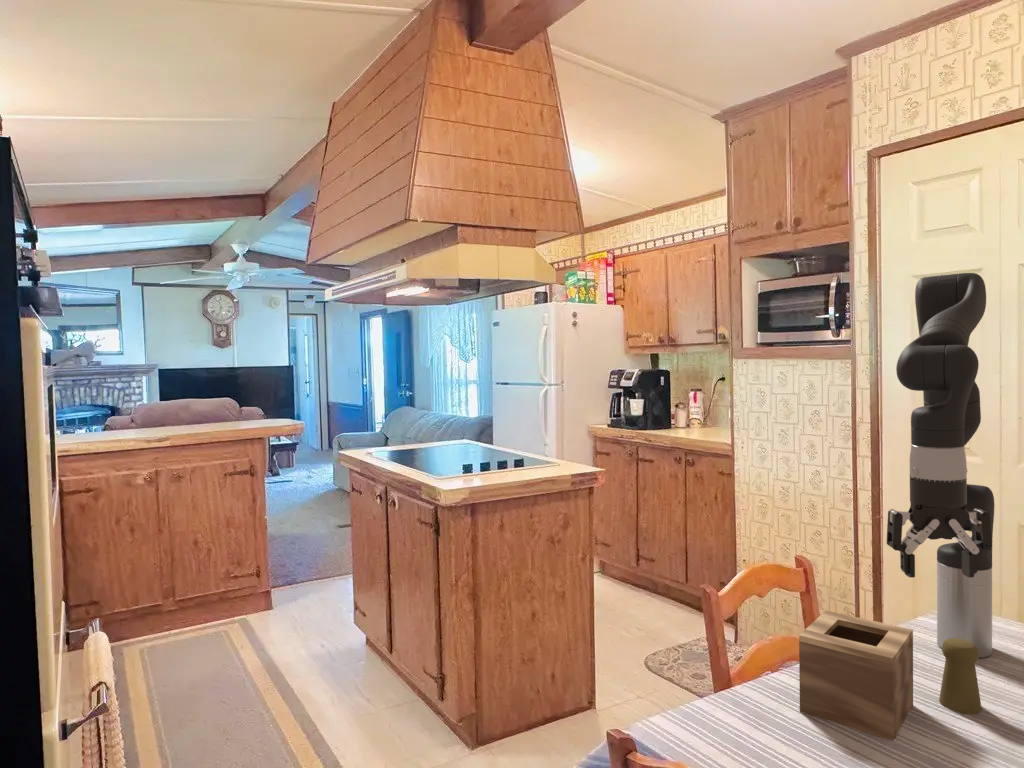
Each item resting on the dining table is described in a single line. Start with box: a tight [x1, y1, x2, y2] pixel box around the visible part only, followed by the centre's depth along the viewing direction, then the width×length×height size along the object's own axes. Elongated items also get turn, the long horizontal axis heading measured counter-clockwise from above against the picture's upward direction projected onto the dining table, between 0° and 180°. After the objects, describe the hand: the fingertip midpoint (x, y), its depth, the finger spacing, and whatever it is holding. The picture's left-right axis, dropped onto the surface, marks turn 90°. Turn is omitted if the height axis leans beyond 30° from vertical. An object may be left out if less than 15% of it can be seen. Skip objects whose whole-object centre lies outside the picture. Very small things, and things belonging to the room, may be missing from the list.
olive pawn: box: [938, 638, 983, 715], centre depth 114 cm, size 6×6×11 cm
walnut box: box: [798, 610, 914, 742], centre depth 114 cm, size 14×14×13 cm
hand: (938, 575), depth 106 cm, fingers open, 8 cm apart
